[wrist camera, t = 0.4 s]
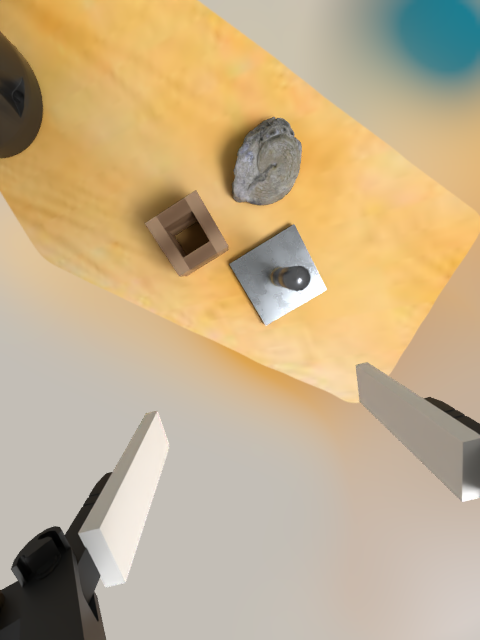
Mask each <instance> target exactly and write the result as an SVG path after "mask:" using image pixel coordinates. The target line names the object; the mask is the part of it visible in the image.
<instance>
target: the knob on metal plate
mask: <svg viewBox="0 0 480 640" xmlns="http://www.w3.org/2000/svg"><path fill="white" fill-rule="evenodd" d="M229 265H230V266H231V268H232V270H233V271H234V273H235V275H236V277H237V278H238V280H239V282H240V283H241V285H242V287H243V288H244V290H245V292H246V293H247V295H248V297H249V299H250V300H251V302H252V304H253V305H254V307H255V309H256V310H257V312H258V314H259V316H260V317H261V319H262V321H263V322H264V324H265V325H268V324H269V323H271V322H273V321H275V320H276V319H278V318H280V317H281V316H283V315H285V314H286V313H288V312H290V311H291V310H293V309H295V308H297V307H298V306H300V305H302V304H303V303H305V302H307V301H308V300H310V299H312V298H313V297H315V296H317V295H318V294H320V293H322V292H324V291H325V290H327V289H326V287H325V285H324V283H323V281H322V279H321V277H320V275H319V273H318V271H317V269H316V267H315V265H314V263H313V261H312V259H311V257H310V255H309V253H308V251H307V249H306V247H305V245H304V243H303V241H302V239H301V237H300V235H299V233H298V231H297V229H296V227H295V225H294V224H293V225H292V226H290V227H289V228H287V229H285V230H284V231H282V232H281V233H279V234H277V235H276V236H274V237H272V238H271V239H269V240H268V241H266V242H264V243H263V244H261V245H259V246H258V247H256V248H255V249H253V250H251V251H250V252H248V253H247V254H245V255H243V256H242V257H240V258H238V259H237V260H235V261H234V262H232V263H230V264H229Z"/></svg>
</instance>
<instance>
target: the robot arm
mask: <svg viewBox="0 0 480 640" xmlns="http://www.w3.org/2000/svg"><path fill="white" fill-rule="evenodd" d="M42 113H43V104H42V96H41V91H40V88H39V84H38V81H37V79H36V77H35V74H34V72H33V70H32V69H31V67H30V65H29V64H28V62H27V61H26V59H25V58H24V57H23V55H22V54H21V53H20V52H19V51H18V50H17V49H16V48H15V46H14V45H13V44H12V43H11V42H10V41H9V40H8V39H7V38H6V37H5V36H4V35H3V34H2V33H1V32H0V158H6V157H10V156H13V155H16V154H18V153H20V152H22V151H23V150H25V149H26V148H27V147H28V146H29V145H30V144H31V143H32V142H33V140H34V139H35V137H36V135H37V133H38V131H39V128H40V125H41V121H42ZM356 372H357V381H358V391H359V400H360V403H361V404H363V406H364V407H365V408H367V410H369V411H370V412H371V413H372V414H373V415H374V416H375V417H376V418H377V419H378V420H379V421H380V422H381V423H382V424H383V425H384V426H385V427H386V428H387V429H388V430H389V431H390V432H391V433H392V434H393V435H394V436H395V437H396V438H397V439H398V440H399V441H401V443H402V444H403V445H404V446H405V447H406V448H407V449H409V450H410V452H412V453H413V454H414V455H415V456H416V457H417V458H418V459H419V460H420V461H421V462H422V463H423V464H424V465H425V466H426V467H427V468H428V469H429V470H430V471H431V472H432V473H433V474H434V475H435V476H436V477H437V478H438V479H439V480H440V481H441V482H442V483H443V484H444V485H445V486H446V487H447V488H448V489H450V491H452V492H453V493H454V494H455V495H456V496H457V497H458V498H459V499H460V500H461V501H462V502H463V501H468V500H472V499H476V498H480V424H479V423H477V422H476V421H474V420H472V419H471V418H469V417H467V416H465V415H464V414H463V413H461V412H459V411H458V410H455V409H454V408H453V407H451V406H449V405H448V404H446V403H444V402H442V401H439V400H436V399H434V398H431V397H428V398H422V397H420V396H419V395H417V394H416V393H414V392H412V391H411V390H409V389H408V388H406V387H405V386H403V385H402V384H400V383H399V382H397V381H395V380H394V379H392V378H391V377H389V376H388V375H386V374H385V373H383V372H381V371H380V370H378V369H377V368H375V367H374V366H372V365H371V364H369V363H367V362H366V363H362V364H358V365H356ZM169 447H170V445H169V442H168V439H167V437H166V434H165V431H164V428H163V425H162V422H161V419H160V416H159V414H158V411H154V412H151V413H146V414H145V416H144V418H143V419H142V421H141V423H140V425H139V427H138V428H137V430H136V432H135V434H134V435H133V437H132V439H131V441H130V442H129V444H128V446H127V448H126V450H125V452H124V453H123V455H122V457H121V458H120V460H119V462H118V464H117V465H116V467H115V469H114V471H113V472H110V473H107V474H105V475H104V476H103V477H102V478H101V480H100V481H99V482H98V483H97V484H96V485H95V487H94V488H93V490H92V492H91V493H90V495H89V498H87V500H86V501H85V503H84V505H83V507H82V508H81V510H80V511H79V513H78V514H77V516H76V518H75V519H74V521H73V523H72V524H71V526H70V528H69V529H68V531H67V532H66V534H65V535H64V533H63V532H62V530H61V528H60V527H56V526H55V527H51V528H48V529H46V530H44V531H43V532H41V533H39V534H38V535H37V536H35V537H34V538H33V539H32V540H31V541H29V542H28V544H27V545H26V546H25V547H24V548H23V549H22V550H21V551H20V552H19V554H18V555H17V557H16V559H15V560H14V562H13V566H12V568H11V570H12V572H13V573H14V575H15V576H16V578H17V579H18V581H17V582H15V583H13V584H12V585H9V586H8V587H6V588H4V589H2V590H0V640H106V636H105V632H104V627H103V622H102V617H101V613H100V608H99V604H98V598H97V595H96V594H95V592H94V590H95V588H96V585H97V583H98V581H99V578H100V577H101V579H102V581H103V583H104V585H105V587H110V586H113V585H117V584H122V583H126V580H127V576H128V574H129V571H130V568H131V565H132V561H133V558H134V555H135V552H136V549H137V546H138V543H139V540H140V537H141V534H142V530H143V527H144V524H145V521H146V518H147V515H148V512H149V509H150V506H151V503H152V499H153V497H154V493H155V490H156V487H157V484H158V481H159V478H160V475H161V472H162V469H163V466H164V463H165V459H166V456H167V453H168V450H169Z"/></svg>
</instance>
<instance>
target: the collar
mask: <svg viewBox="0 0 480 640" xmlns="http://www.w3.org/2000/svg"><path fill="white" fill-rule="evenodd" d="M197 221H198V222H199V224H200V225H201V227H202V229H203V230H204V232H205V234H206V236H207V237H208V239H209V242H208V243H206V244H204V245H203V246H201V247H200V248H198V249H196V250H195V251H193V252H192V253H190V254H188V255H186V253H185V252H184V250H183V249H182V247H181V245H180V244H179V242H178V241H177V239H176V237H175V235H177V234H178V233H180V232H182V231H183V230H185V229H186V228H188V227H189V226H191V225H193V224H194V223H196V222H197ZM145 225H146V226H147V228H148V229H149V231H150V232H151V234H152V235H153V237H154V239H155V240H156V242H157V243H158V245H159V246H160V248H161V249H162V251H163V252H164V254H165V255H166V257H167V258H168V260H169V262H170V263H171V265H172V266H173V268H174V269H175V271H176V272H177V274H178V275H179V276H188V275H189V274H191V273H192V272H194V271H196V270H197V269H199V268H200V267H202V266H204V265H205V264H207V263H208V262H210V261H212V260H213V259H215V258H217V257H218V256H220V255H221V254H223V253H225V252H226V251H228V244H227V243H226V241H225V239H224V238H223V236H222V234H221V232H220V231H219V229H218V227H217V225H216V224H215V222H214V220H213V219H212V217H211V215H210V213H209V212H208V210H207V208H206V207H205V205H204V203H203V201H202V200H201V198H200V196H199V194H198V193H197V191H196V190H195V191H194V192H192V193H191V194H189V195H187V196H186V197H184V198H183V199H181V200H180V201H178V202H177V203H175V204H174V205H172V206H171V207H169V208H167V209H166V210H164V211H163V212H161V213H160V214H158V215H157V216H155V217H154V218H152V219H150V220H149V221H147V222H146V223H145Z"/></svg>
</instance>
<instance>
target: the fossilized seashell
mask: <svg viewBox="0 0 480 640" xmlns="http://www.w3.org/2000/svg"><path fill="white" fill-rule="evenodd" d="M301 152H302V147H301V142H300V141H299V140H298V139H296V137H295V138H294V132H293V130H292V129H291V127H290V124H289V123H288V122H287V121H285V119H282V118H277V119H275V117H272V118H271V119H267V120H265V121H263V122H262V123H261V124H260V125H258V126H257V127H256V128H254V129H253V130H252V131H250V132H249V133H248V134H247V135H246V137H245V139H244V142H243V145H242V146H241V147H240V148H239V150H238V153H237V156H238V158H237V161H236V165H235V169H234V170H233V171H234V175H235V179H234V182H233V183H232V194H233V198H234V200H235V201H236V202H245V201H246V202H249V203H251V204H255V205H268V204H272V203H274V202H276V201H278V200H281V199H282V198H283V197H284V196H285V195H286V194H288V193H289V191H290V190H291V188H292V187H293V185H294V183H295V180H296V178H297V176H298V173H299V169H300V163H301Z"/></svg>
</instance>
